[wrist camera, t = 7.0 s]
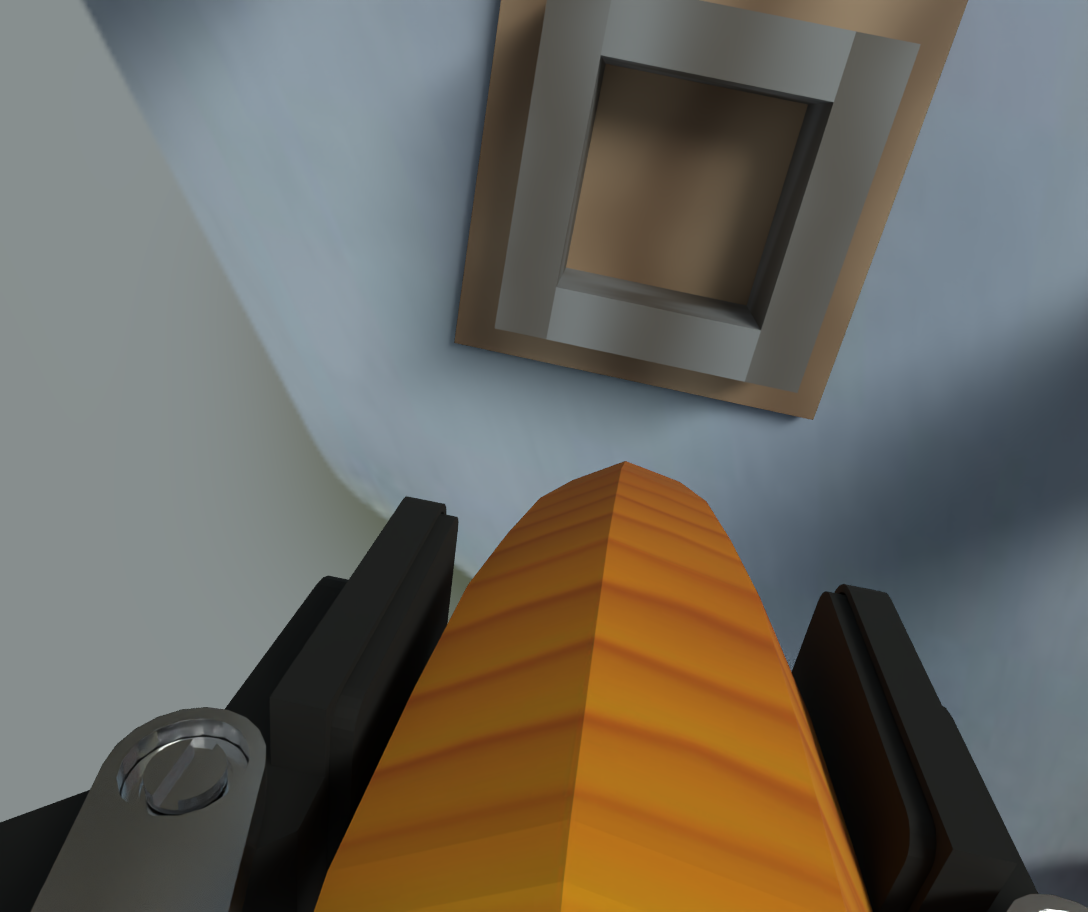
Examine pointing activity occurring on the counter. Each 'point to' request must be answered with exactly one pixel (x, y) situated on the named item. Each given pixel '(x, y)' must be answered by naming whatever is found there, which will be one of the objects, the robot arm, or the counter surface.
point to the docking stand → (693, 184)
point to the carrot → (603, 733)
